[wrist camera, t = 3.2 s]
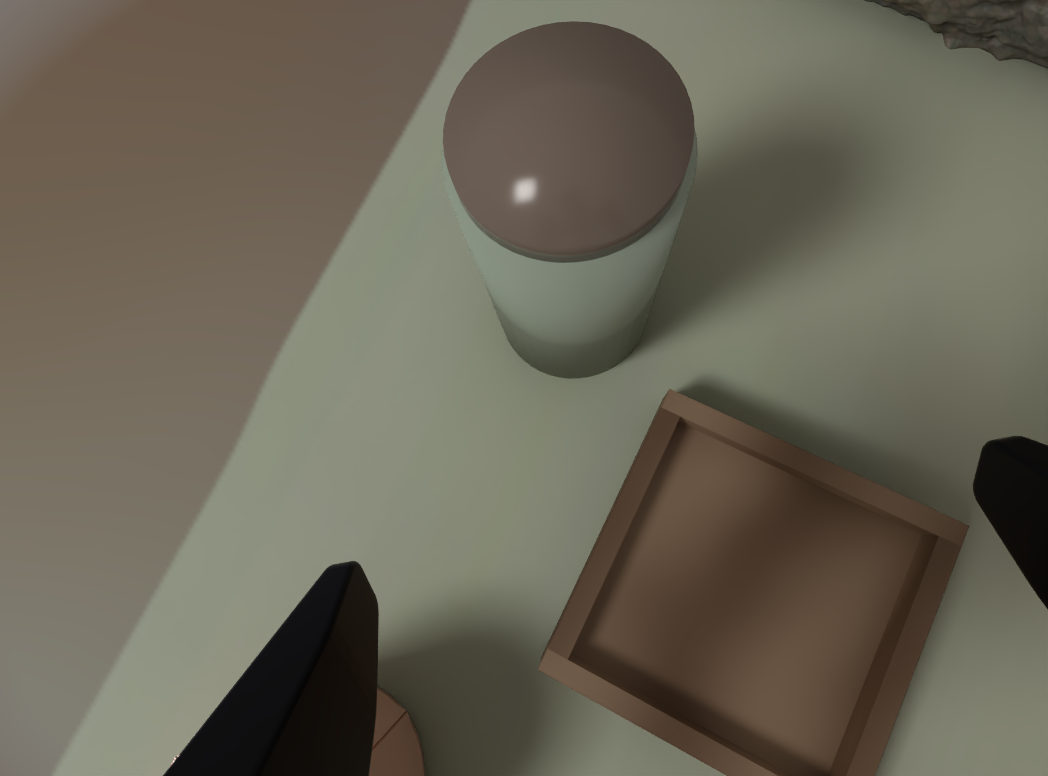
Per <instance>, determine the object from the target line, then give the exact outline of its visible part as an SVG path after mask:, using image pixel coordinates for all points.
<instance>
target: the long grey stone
mask: <svg viewBox="0 0 1048 776" xmlns="http://www.w3.org/2000/svg"><path fill="white" fill-rule="evenodd" d="M865 1H874V2H876V3H877V4H880V5H881V6H885V7H891V8H893V9H895V10H897V11H898V12H899V13H901V14H903V15H913V16H915V17H918V18H919V19H920V20H924V21H926V22H928V23H929V24H930V26H931V28H932V30H933V31H934V32H941V33H942V34H943V37H944V43H945V46H946V47H947V48H949V49H956V48H981V49H983V50H985V51H987V52H989V53H991V54H992V55H994V56H995V58H996V59H997V60H999V61H1001V60H1006V59H1011V58H1024V59H1026V60H1029V61H1031V62H1034V63H1036V64H1039V65H1043V66H1046V67H1048V0H865Z"/></svg>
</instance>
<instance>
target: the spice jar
mask: <svg viewBox="0 0 1048 776" xmlns="http://www.w3.org/2000/svg"><path fill="white" fill-rule="evenodd" d="M696 164H697V138H696V133H695V128H694V115H693V110H692V105H691V101H690V98H689V96H688V93H687V90H686V88H685V86H684V84H683V82H682V80H681V78H680V76H679V75H678V73H677V72H676V71H675V69H674V68H673V67H672V65H671V64H670V63H669V62H668V61H667V60H666V59H665V58H664V57H663V56H662V55H661V54H660V53H659V52H658V51H657V50H656V49H654V48H653V47H652V46H650V45H649V44H648V43H646V42H645V41H643V40H641V39H640V38H638V37H636V36H634V35H632V34H630V33H627V32H625V31H623V30H620V29H617V28H614V27H610V26H607V25H602V24H596V23H590V22H558V23H552V24H547V25H542V26H538V27H535V28H531V29H528V30H525V31H523V32H521V33H518V34H516V35H513V36H511V37H510V38H508V39H506V40H504V41H502V42H501V43H499V44H498V45H496V46H495V47H493V48H492V49H491V50H489V51H488V52H486V53H485V54H484V55H483V56H482V57H481V58H480V59H479V60H478V61H477V62H476V63H475V64H474V65H473V66H472V67H471V68H470V70H469V71H468V72H467V73H466V74H465V76H464V77H463V79H462V80H461V82H460V83H459V85H458V86H457V88H456V90H455V92H454V94H453V97H452V99H451V101H450V104H449V107H448V110H447V113H446V118H445V123H444V131H443V150H442V170H443V179H444V183H445V187H446V191H447V195H448V197H449V200H450V202H451V204H452V207H453V209H454V212H455V214H456V216H457V219H458V221H459V224H460V226H461V228H462V231H463V233H464V236H465V238H466V240H467V243H468V245H469V248H470V250H471V253H472V255H473V257H474V260H475V262H476V265H477V267H478V269H479V272H480V274H481V277H482V279H483V281H484V284H485V286H486V289H487V291H488V293H489V296H490V298H491V301H492V303H493V306H494V308H495V310H496V313H497V315H498V318H499V320H500V322H501V325H502V327H503V330H504V332H505V334H506V337H507V339H508V341H509V343H510V344H511V346H512V348H513V349H514V350H515V351H516V353H517V354H518V355H519V356H520V357H521V358H522V359H523V360H524V361H525V362H527V363H528V364H529V365H531V366H532V367H534V368H536V369H537V370H539V371H541V372H544V373H546V374H549V375H552V376H556V377H561V378H585V377H590V376H594V375H598V374H600V373H603V372H605V371H607V370H609V369H611V368H613V367H614V366H616V365H617V364H619V363H620V362H621V361H622V360H624V359H625V358H626V357H627V356H628V355H629V354H630V353H631V351H632V350H633V349H634V347H635V346H636V345H637V343H638V341H639V339H640V338H641V335H642V333H643V330H644V328H645V325H646V322H647V319H648V316H649V313H650V310H651V307H652V304H653V301H654V298H655V295H656V292H657V289H658V286H659V283H660V280H661V277H662V274H663V271H664V268H665V265H666V262H667V259H668V256H669V253H670V250H671V247H672V244H673V241H674V238H675V235H676V232H677V229H678V226H679V223H680V220H681V217H682V214H683V211H684V208H685V205H686V202H687V199H688V196H689V193H690V190H691V187H692V184H693V179H694V175H695V171H696Z"/></svg>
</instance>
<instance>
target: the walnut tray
mask: <svg viewBox="0 0 1048 776" xmlns="http://www.w3.org/2000/svg"><path fill="white" fill-rule="evenodd" d="M968 528H969V525H967V524H964V523H962V522H960V521H958V520H956V519H953V518H951V517H949V516H947V515H945V514H942V513H940V512H938V511H936V510H934V509H931V508H929V507H927V506H925V505H923V504H921V503H918V502H916V501H914V500H912V499H910V498H907V497H905V496H903V495H901V494H899V493H896V492H894V491H892V490H890V489H888V488H886V487H883V486H881V485H879V484H877V483H875V482H872V481H870V480H868V479H866V478H864V477H861V476H859V475H857V474H855V473H853V472H850V471H848V470H846V469H844V468H842V467H840V466H837V465H835V464H833V463H831V462H829V461H826V460H824V459H822V458H820V457H818V456H815V455H813V454H811V453H809V452H807V451H805V450H802V449H800V448H798V447H796V446H794V445H791V444H789V443H787V442H785V441H783V440H780V439H778V438H776V437H774V436H772V435H770V434H767V433H765V432H763V431H761V430H759V429H756V428H754V427H752V426H750V425H748V424H745V423H743V422H741V421H739V420H737V419H734V418H732V417H730V416H728V415H726V414H724V413H721V412H719V411H717V410H715V409H713V408H710V407H708V406H706V405H704V404H702V403H699V402H697V401H695V400H693V399H691V398H689V397H686V396H684V395H682V394H680V393H678V392H675V391H673V390H671V389H669V391H668V392H667V394H666V395H665V397H664V398H663V400H662V402H661V404H660V406H659V409H658V411H657V413H656V415H655V417H654V419H653V421H652V423H651V426H650V428H649V430H648V432H647V434H646V436H645V438H644V440H643V443H642V445H641V447H640V449H639V451H638V453H637V455H636V457H635V460H634V462H633V464H632V466H631V468H630V470H629V472H628V474H627V477H626V479H625V481H624V483H623V485H622V487H621V489H620V491H619V494H618V496H617V498H616V500H615V502H614V504H613V506H612V508H611V511H610V513H609V515H608V517H607V519H606V521H605V523H604V525H603V528H602V530H601V532H600V534H599V536H598V538H597V540H596V542H595V545H594V547H593V549H592V551H591V553H590V555H589V557H588V559H587V562H586V564H585V566H584V568H583V570H582V572H581V574H580V576H579V579H578V581H577V583H576V585H575V587H574V589H573V591H572V593H571V596H570V598H569V600H568V602H567V604H566V606H565V608H564V610H563V613H562V615H561V617H560V619H559V621H558V623H557V625H556V627H555V630H554V632H553V634H552V636H551V638H550V640H549V642H548V644H547V647H546V649H545V651H544V653H543V655H542V657H541V661H540V664H539V668H538V670H539V671H541V672H543V673H545V674H546V675H548V676H550V677H552V678H554V679H555V680H557V681H559V682H561V683H562V684H564V685H566V686H568V687H570V688H571V689H573V690H575V691H577V692H579V693H580V694H582V695H584V696H586V697H587V698H589V699H591V700H593V701H595V702H596V703H598V704H600V705H602V706H604V707H605V708H607V709H609V710H611V711H612V712H614V713H616V714H618V715H620V716H621V717H623V718H625V719H627V720H629V721H630V722H632V723H634V724H636V725H637V726H639V727H641V728H643V729H645V730H646V731H648V732H650V733H652V734H654V735H655V736H657V737H659V738H661V739H662V740H664V741H666V742H668V743H670V744H671V745H673V746H675V747H677V748H679V749H680V750H682V751H684V752H686V753H687V754H689V755H691V756H693V757H695V758H696V759H698V760H700V761H702V762H704V763H705V764H707V765H709V766H711V767H712V768H714V769H716V770H718V771H720V772H721V773H723V774H725V775H727V776H875V773H876V771H877V768H878V765H879V763H880V760H881V758H882V755H883V752H884V750H885V747H886V744H887V742H888V739H889V736H890V734H891V731H892V729H893V726H894V723H895V721H896V718H897V715H898V713H899V710H900V707H901V705H902V702H903V700H904V697H905V694H906V692H907V689H908V686H909V684H910V681H911V679H912V676H913V673H914V671H915V668H916V665H917V663H918V660H919V657H920V655H921V652H922V650H923V647H924V644H925V642H926V639H927V636H928V634H929V631H930V628H931V626H932V623H933V621H934V618H935V615H936V613H937V610H938V607H939V605H940V602H941V600H942V597H943V594H944V592H945V589H946V586H947V584H948V581H949V578H950V576H951V573H952V571H953V568H954V565H955V563H956V560H957V557H958V555H959V552H960V549H961V547H962V544H963V542H964V539H965V536H966V534H967V531H968Z"/></svg>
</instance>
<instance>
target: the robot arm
mask: <svg viewBox="0 0 1048 776" xmlns="http://www.w3.org/2000/svg"><path fill="white" fill-rule="evenodd" d="M973 491H974V495H975V498H976V500H977V502H978V504H979V505H980V507H981V509H982V510H983V512H984V513H985V515H986V516H987V518H988V520H989V521H990V523H991V524H992V526H993V527H994V529H995V531H996V532H997V534H998V535H999V537H1000V538H1001V540H1002V541H1003V543H1004V545H1005V546H1006V548H1007V549H1008V551H1009V552H1010V554H1011V556H1012V557H1013V559H1014V560H1015V562H1016V563H1017V565H1018V567H1019V568H1020V570H1021V571H1022V573H1023V574H1024V576H1025V578H1026V579H1027V581H1028V582H1029V584H1030V585H1031V587H1032V588H1033V590H1034V591H1035V592H1036V594H1037V595H1038V597H1039V598H1040V600H1041V601H1042V602H1043V604H1044V605H1045V606H1046V608H1047V609H1048V445H1045V444H1042V443H1039V442H1037V441H1034V440H1031V439H1028V438H1025V437H1022V436H1011V437H1006V438H1001V439H995V440H991V441H988V442H987V443H986V444H985V445H984V446H983V448H982V451H981V455H980V459H979V463H978V467H977V471H976V474H975V478H974V483H973ZM378 616H379V612H378V603H377V599H376V596H375V593H374V591H373V589H372V587H371V585H370V583H369V581H368V579H367V577H366V575H365V573H364V571H363V569H362V567H361V566H360V564H359V563H358V562H356V561H350V562H345V563H339V564H334V565H331V566H329V567H328V568H327V569H326V570H325V571H324V572H323V573H322V575H321V576H320V577H319V578H318V580H317V581H316V582H315V584H314V585H313V586H312V587H311V589H310V590H309V591H308V592H307V594H306V595H305V596H304V598H303V599H302V600H301V601H300V603H299V604H298V605H297V606H296V608H295V609H294V610H293V611H292V613H291V614H290V615H289V617H288V618H287V619H286V620H285V622H284V623H283V624H282V625H281V627H280V628H279V629H278V630H277V632H276V633H275V634H274V636H273V637H272V638H271V639H270V641H269V642H268V643H267V644H266V646H265V647H264V648H263V649H262V651H261V652H260V653H259V655H258V656H257V657H256V658H255V660H254V661H253V662H252V663H251V665H250V666H249V667H248V668H247V670H246V671H245V672H244V674H243V675H242V676H241V677H240V679H239V680H238V681H237V682H236V684H235V685H234V686H233V688H232V689H231V690H230V691H229V693H228V694H227V695H226V696H225V698H224V699H223V700H222V701H221V703H220V704H219V705H218V707H217V708H216V709H215V710H214V712H213V713H212V714H211V715H210V717H209V718H208V719H207V720H206V722H205V723H204V724H203V726H202V727H201V728H200V729H199V731H198V732H197V733H196V734H195V736H194V737H193V738H192V739H191V741H190V742H189V743H188V745H187V746H186V747H185V748H184V750H183V751H182V752H181V753H180V755H179V756H178V757H177V758H176V760H175V761H174V762H173V764H172V765H171V766H170V767H169V769H168V770H167V771H166V772H165V774H164V775H163V776H369V771H370V763H371V755H372V747H373V740H374V732H375V722H376V709H377V670H378Z"/></svg>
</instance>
